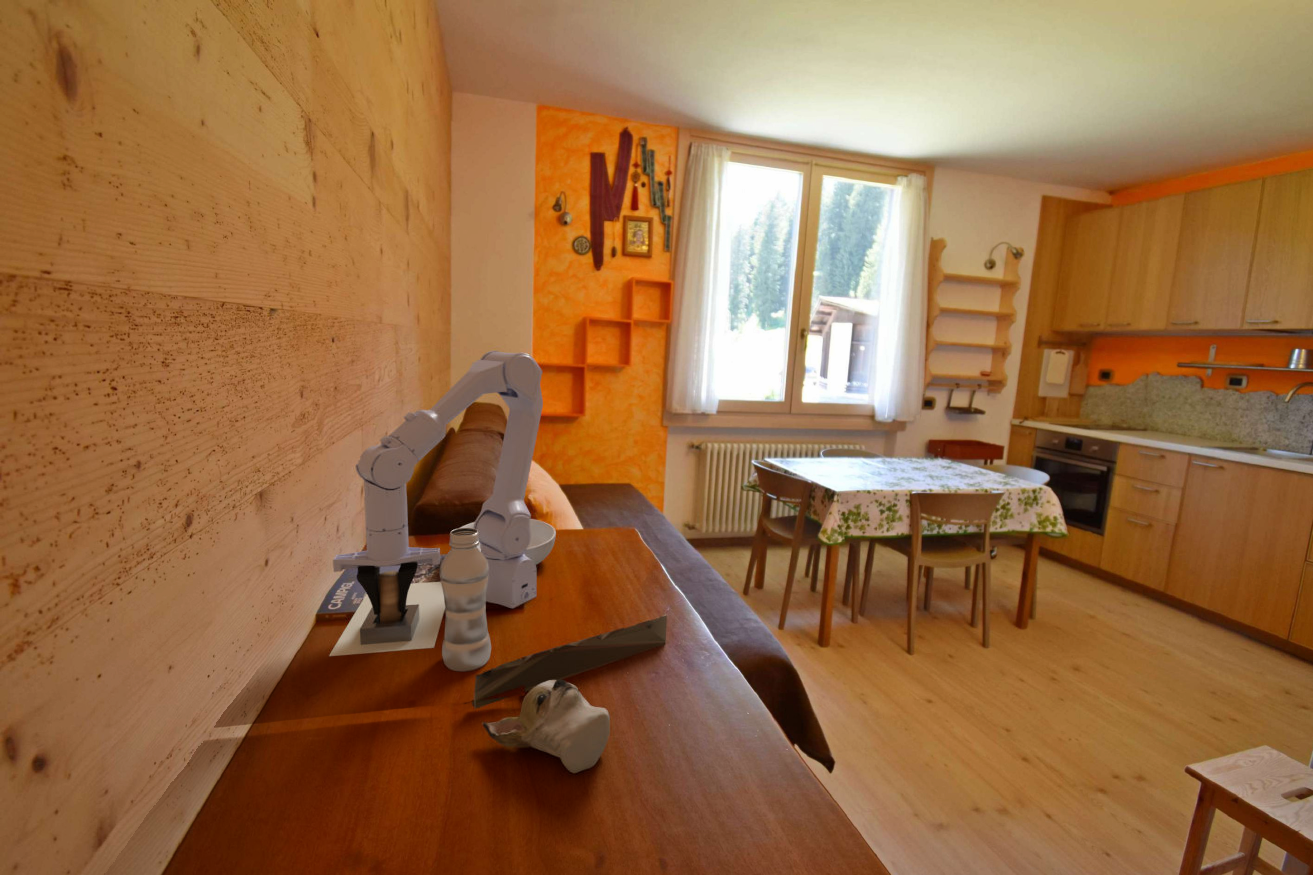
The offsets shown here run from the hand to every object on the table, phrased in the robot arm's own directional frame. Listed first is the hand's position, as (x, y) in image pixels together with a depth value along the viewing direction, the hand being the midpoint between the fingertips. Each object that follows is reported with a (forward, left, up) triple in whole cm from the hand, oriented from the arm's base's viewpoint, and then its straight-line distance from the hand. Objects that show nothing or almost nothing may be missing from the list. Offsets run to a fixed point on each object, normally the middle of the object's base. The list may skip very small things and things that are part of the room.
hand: (390, 610), depth 88 cm
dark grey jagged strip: (-29, -10, -5) cm, 31 cm away
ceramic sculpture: (-37, +4, -5) cm, 38 cm away
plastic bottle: (-16, -1, -5) cm, 16 cm away
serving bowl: (+8, -31, -5) cm, 33 cm away
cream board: (+4, -4, -4) cm, 7 cm away
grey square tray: (0, 0, -3) cm, 3 cm away
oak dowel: (0, 0, -2) cm, 2 cm away
